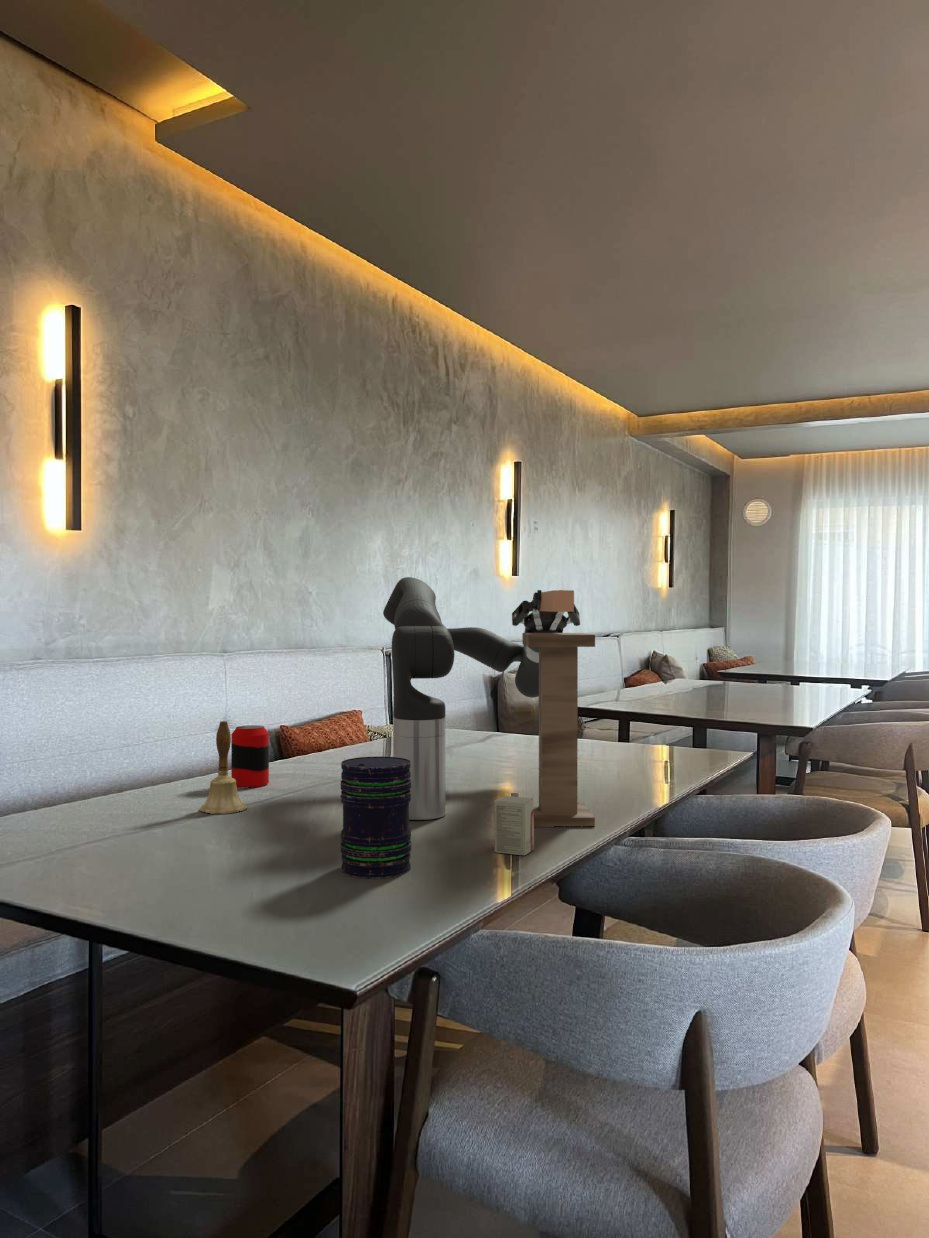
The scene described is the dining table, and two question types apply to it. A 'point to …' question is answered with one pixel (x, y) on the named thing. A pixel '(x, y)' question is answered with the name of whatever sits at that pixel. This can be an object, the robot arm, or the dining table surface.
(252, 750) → the soda can
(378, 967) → the dining table surface
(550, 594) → the block
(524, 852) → the small box
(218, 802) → the hand bell
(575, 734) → the wooden pedestal stand
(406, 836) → the storage jar
